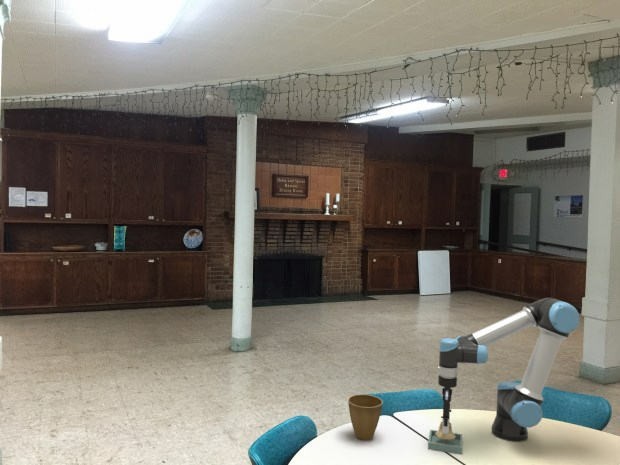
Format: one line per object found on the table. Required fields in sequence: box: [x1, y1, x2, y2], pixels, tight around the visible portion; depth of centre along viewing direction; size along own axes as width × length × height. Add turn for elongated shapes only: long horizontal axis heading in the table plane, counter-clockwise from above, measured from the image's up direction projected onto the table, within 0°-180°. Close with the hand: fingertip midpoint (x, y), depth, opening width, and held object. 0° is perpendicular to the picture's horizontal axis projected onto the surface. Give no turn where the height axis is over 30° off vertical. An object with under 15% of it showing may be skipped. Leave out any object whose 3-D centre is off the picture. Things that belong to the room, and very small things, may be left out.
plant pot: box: [347, 393, 384, 441], centre depth 222 cm, size 15×15×16 cm
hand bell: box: [435, 405, 456, 440], centre depth 215 cm, size 8×8×16 cm
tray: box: [427, 429, 463, 455], centre depth 216 cm, size 14×14×3 cm
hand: (445, 430), depth 216 cm, fingers closed on hand bell, 6 cm apart
